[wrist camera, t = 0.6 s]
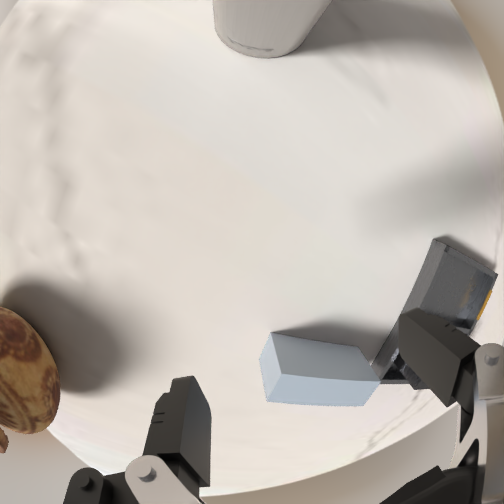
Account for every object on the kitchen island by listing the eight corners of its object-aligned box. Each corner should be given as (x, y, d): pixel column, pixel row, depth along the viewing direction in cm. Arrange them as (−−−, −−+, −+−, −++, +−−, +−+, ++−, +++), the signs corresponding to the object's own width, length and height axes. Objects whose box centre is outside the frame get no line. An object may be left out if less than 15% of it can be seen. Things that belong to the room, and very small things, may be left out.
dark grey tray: (433, 238, 28) (475, 258, 21) (488, 269, 30) (520, 286, 23) (366, 372, 33) (389, 408, 26) (433, 373, 36) (455, 399, 28)
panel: (270, 331, 29) (281, 373, 23) (357, 346, 31) (381, 381, 25) (259, 358, 30) (266, 401, 24) (343, 369, 32) (363, 405, 26)
